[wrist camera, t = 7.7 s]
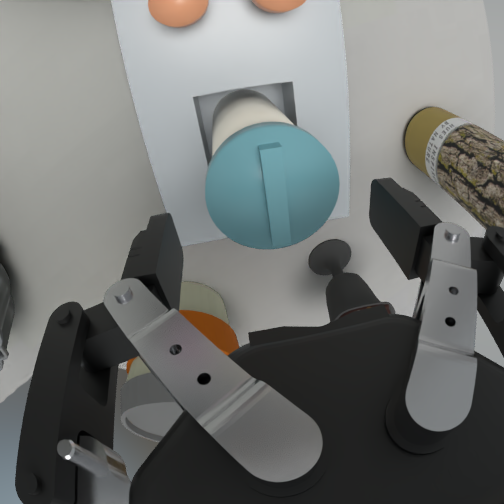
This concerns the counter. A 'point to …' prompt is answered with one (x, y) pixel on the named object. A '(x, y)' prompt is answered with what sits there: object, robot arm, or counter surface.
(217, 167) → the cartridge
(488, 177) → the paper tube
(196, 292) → the reusable coffee cup
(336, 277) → the sundae
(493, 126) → the counter surface
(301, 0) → the plunger
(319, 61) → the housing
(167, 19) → the plunger
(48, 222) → the counter surface
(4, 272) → the bundt pan
